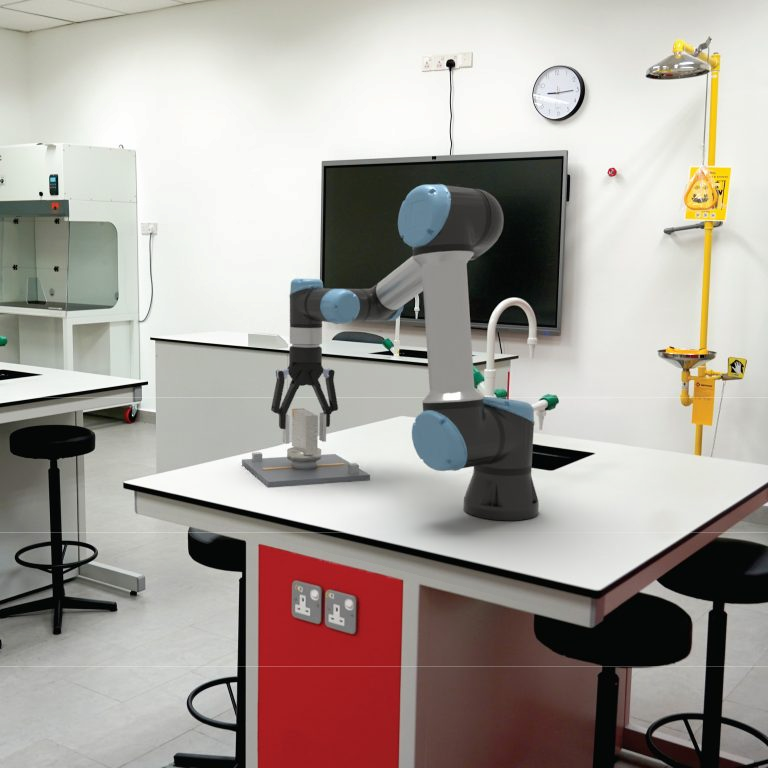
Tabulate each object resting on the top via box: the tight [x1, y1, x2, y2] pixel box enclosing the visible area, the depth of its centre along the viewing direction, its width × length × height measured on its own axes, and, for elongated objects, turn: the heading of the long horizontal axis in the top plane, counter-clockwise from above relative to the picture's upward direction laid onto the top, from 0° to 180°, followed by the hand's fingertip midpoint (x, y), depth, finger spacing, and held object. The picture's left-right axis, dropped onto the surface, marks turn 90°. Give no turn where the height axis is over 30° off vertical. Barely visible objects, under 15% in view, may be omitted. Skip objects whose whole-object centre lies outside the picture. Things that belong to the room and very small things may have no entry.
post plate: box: [241, 451, 371, 488], centre depth 214 cm, size 24×24×3 cm
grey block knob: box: [286, 407, 322, 462], centre depth 213 cm, size 11×8×11 cm
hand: (304, 441), depth 213 cm, fingers open, 8 cm apart
